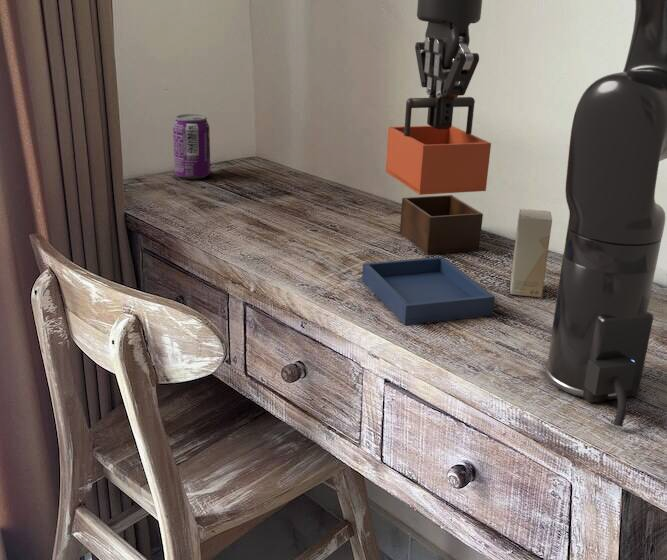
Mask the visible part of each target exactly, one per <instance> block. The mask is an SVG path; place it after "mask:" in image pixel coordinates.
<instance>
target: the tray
mask: <svg viewBox="0 0 667 560" xmlns="http://www.w3.org/2000/svg"><path fill="white" fill-rule="evenodd" d="M361 274H362V275H361V281H362V282H363V283H364V284H365V285H366V286H367V287H368V289H370V290H371V292H372V293H373V294H374V295H375V296H376V297H377V298H378V299H379V300H380V301H381V302H382V303H383V304H384V305H385V306H386V307H387V308H388V309H389V311H391V313H392V314H394V316H396V318H397V319H398V320H399V321H400V322H401V323H402V324H403V325H404V326H407V325H415V324H416V325H417V324H424V323H435V322H443V321H453V320H462V319H470V318H480V317H489V316H493V315H494V308H495V300H496V296H495V295H493V294H492V293H491V292H489V291H488V290H487V289H486V288H484V287H483V286H481V285H480V284H479V283H478V282H477V281H475V280H474V279H472V278H471V276H469V275H467V274H466V273H465V272H464V271H462V270H461V269H459V268H458V267H457V266H456V265H454V264H453V263H452V262H450V261H449V260H448V259H447V258H445V257H444V256H433V257H424V258H423V257H422V258H410V259H397V260H387V261H386V260H385V261H375V262H364V263H363V262H362V271H361Z"/></svg>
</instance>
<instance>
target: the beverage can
mask: <svg viewBox="0 0 667 560" xmlns="http://www.w3.org/2000/svg"><path fill="white" fill-rule="evenodd" d="M174 119H175V120H174V123H173V125H172V136H173V163H174V174H175V175H176V176H178V177H180V178H181V179H184V180H201V179H204V178H205V177H207V176H210V174H211V141H210V135H211V133H210V132H211V131H210V124H209V122H208V120H207V119H208V117H207V115H203V114H198V113H197V114H196V113H184V114H178V115H175V117H174Z"/></svg>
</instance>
